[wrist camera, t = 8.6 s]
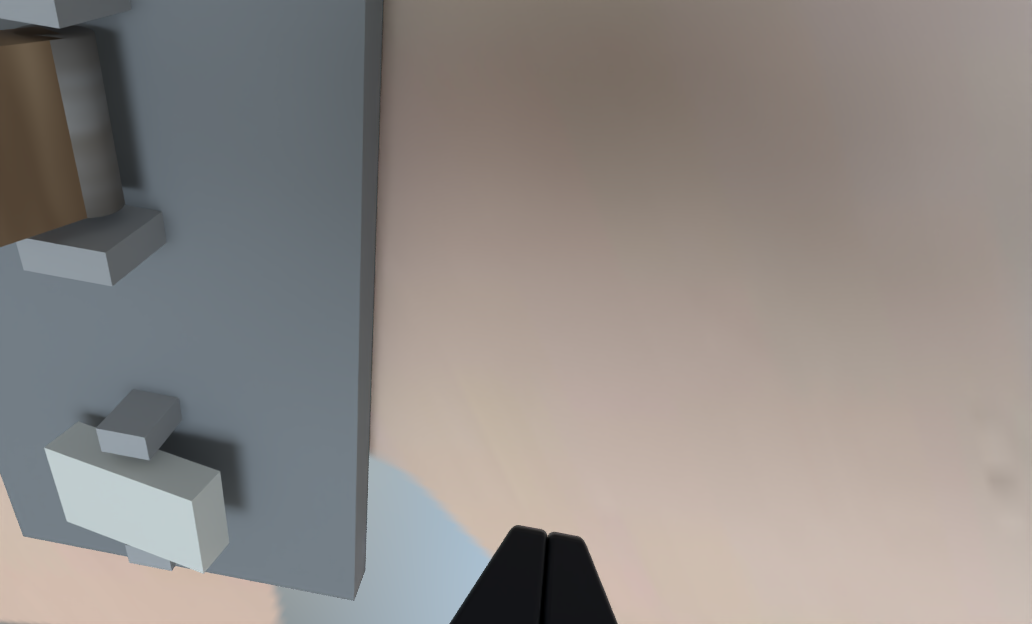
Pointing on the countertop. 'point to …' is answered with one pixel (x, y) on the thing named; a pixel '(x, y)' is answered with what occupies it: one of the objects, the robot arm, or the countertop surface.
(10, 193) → the walnut lever
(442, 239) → the countertop surface
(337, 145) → the switch panel
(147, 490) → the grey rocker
